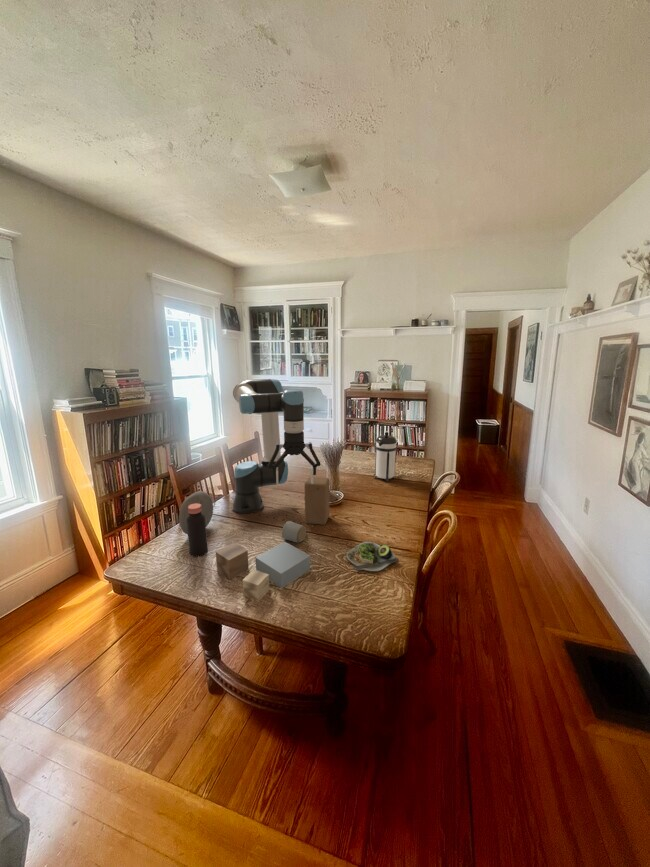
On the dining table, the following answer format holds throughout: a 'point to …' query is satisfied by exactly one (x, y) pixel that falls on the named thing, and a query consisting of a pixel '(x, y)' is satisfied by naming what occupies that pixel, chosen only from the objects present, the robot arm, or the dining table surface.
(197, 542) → the bottle
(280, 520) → the dining table surface
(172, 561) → the dining table surface
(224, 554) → the walnut cube
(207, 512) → the grey round disc
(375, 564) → the salad plate
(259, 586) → the maple cube
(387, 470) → the coffee press
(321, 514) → the wooden block
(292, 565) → the slate block
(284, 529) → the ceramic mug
